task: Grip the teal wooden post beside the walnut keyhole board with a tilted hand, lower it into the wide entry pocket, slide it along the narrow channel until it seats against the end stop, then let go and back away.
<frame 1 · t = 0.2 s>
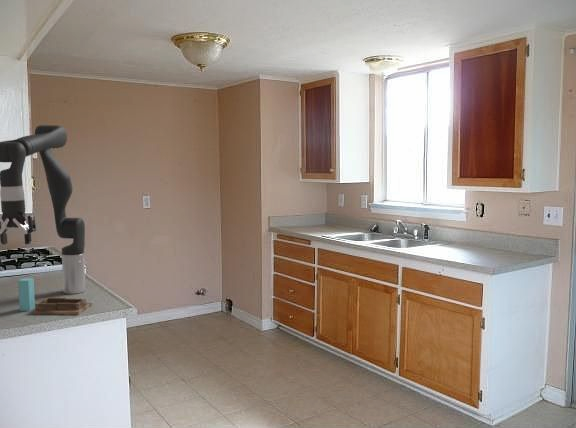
hand: (16, 244, 186), 29 cm above the countertop, tool pointing down, fingers open, 8 cm apart
post: (27, 309, 204), on the countertop
keyhole board: (62, 309, 204), on the countertop
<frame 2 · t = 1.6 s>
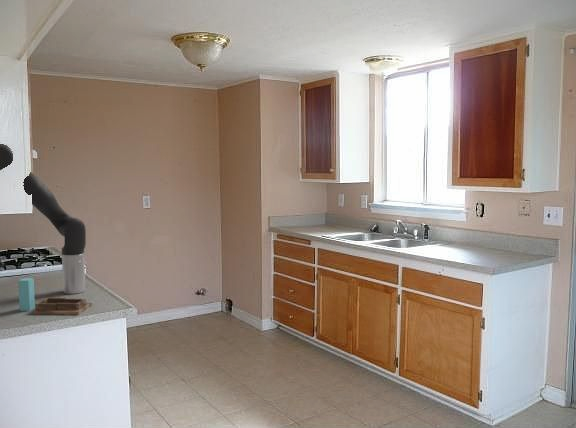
nothing on the countertop moved.
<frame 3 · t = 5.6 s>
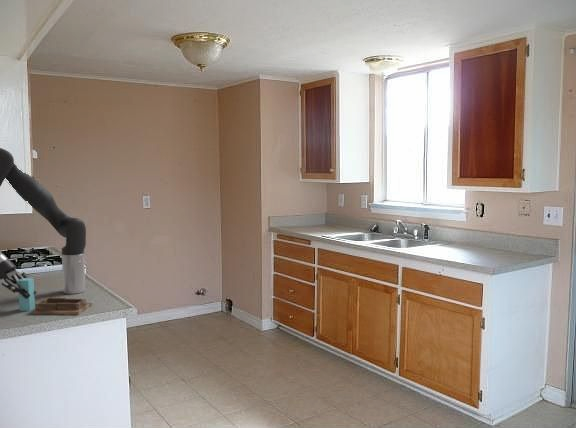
hand: (31, 295, 204), 6 cm above the countertop, tool tilted 45°, fingers closed on post, 4 cm apart
post: (27, 309, 204), on the countertop, touching gripper
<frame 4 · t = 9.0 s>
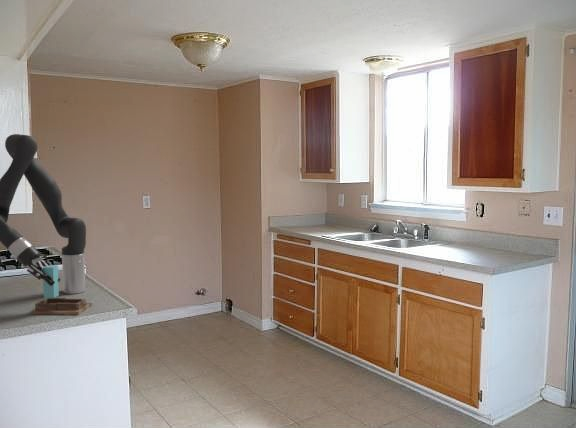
hand: (55, 282, 203), 11 cm above the countertop, tool tilted 45°, fingers closed on post, 4 cm apart
post: (51, 296, 203), point 5 cm above the countertop, touching gripper
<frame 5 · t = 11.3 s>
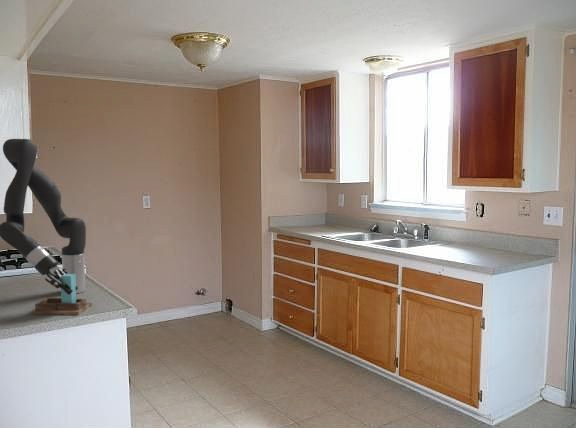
hand: (73, 291, 203), 7 cm above the countertop, tool tilted 45°, fingers closed on post, 4 cm apart
post: (69, 305, 203), point 2 cm above the countertop, touching gripper
when the fingers open (7 cm above the countertop, at t = 12.9 s): post stays where it is, resting on keyhole board.
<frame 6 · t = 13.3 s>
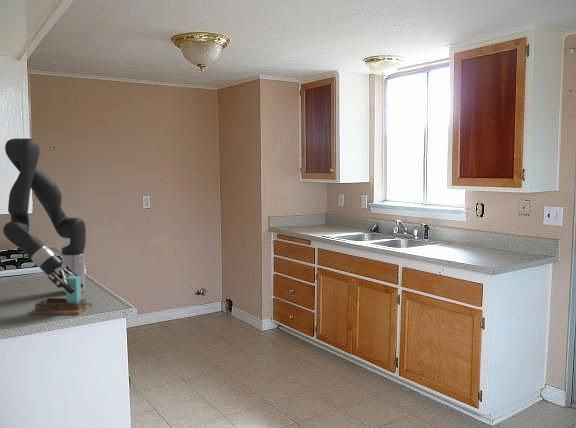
hand: (77, 289, 203), 8 cm above the countertop, tool tilted 45°, fingers open, 7 cm apart
post: (74, 307, 204), point 1 cm above the countertop, touching keyhole board
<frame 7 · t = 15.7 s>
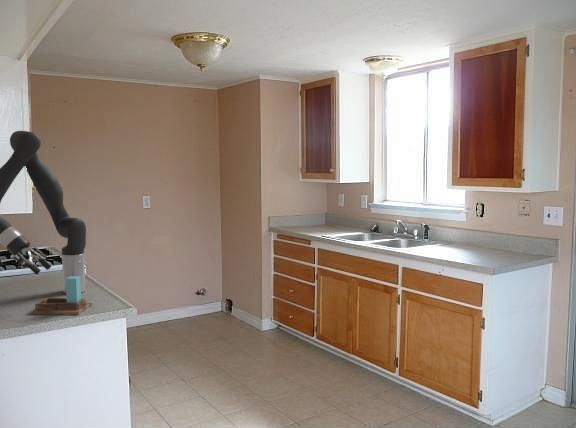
hand: (44, 270, 202), 16 cm above the countertop, tool tilted 45°, fingers open, 8 cm apart
nothing on the countertop moved.
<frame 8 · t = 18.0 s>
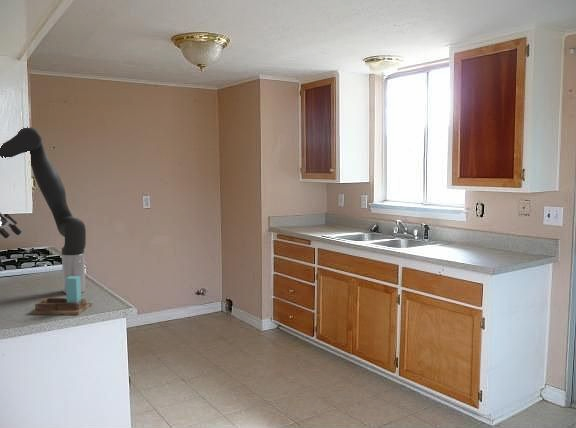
hand: (14, 235, 206), 29 cm above the countertop, tool tilted 45°, fingers open, 8 cm apart
nothing on the countertop moved.
at the end: post 0.1 cm from the target spot on the keyhole board, point 1.0 cm above the keyhole board's base; post tilted 0°; the gripper is holding nothing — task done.
